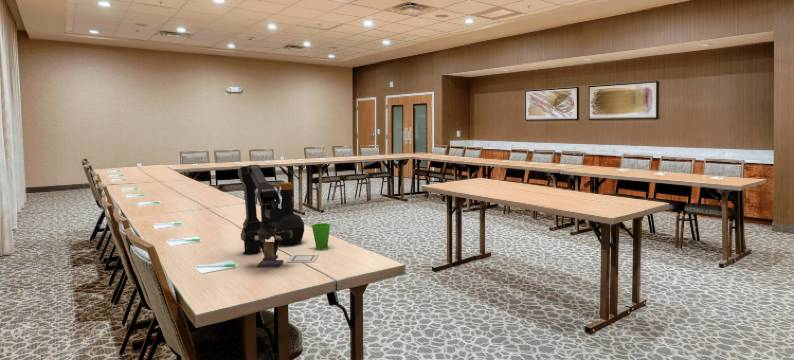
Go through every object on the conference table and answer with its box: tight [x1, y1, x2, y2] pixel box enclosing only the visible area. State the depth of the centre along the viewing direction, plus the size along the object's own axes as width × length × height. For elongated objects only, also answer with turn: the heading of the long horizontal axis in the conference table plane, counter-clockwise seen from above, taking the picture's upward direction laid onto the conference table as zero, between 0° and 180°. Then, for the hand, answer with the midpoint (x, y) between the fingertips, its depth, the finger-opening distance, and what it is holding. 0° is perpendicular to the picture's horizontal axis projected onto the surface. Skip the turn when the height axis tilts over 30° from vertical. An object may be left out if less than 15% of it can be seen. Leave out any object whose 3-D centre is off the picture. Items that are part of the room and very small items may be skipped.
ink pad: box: [257, 259, 284, 268], centre depth 203 cm, size 9×7×1 cm
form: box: [286, 254, 320, 264], centre depth 211 cm, size 12×11×1 cm
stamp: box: [262, 241, 279, 261], centre depth 203 cm, size 5×5×7 cm
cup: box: [310, 222, 331, 250], centre depth 228 cm, size 9×9×11 cm
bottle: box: [273, 181, 305, 247], centre depth 237 cm, size 16×16×30 cm
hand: (270, 254), depth 203 cm, fingers closed on stamp, 4 cm apart
